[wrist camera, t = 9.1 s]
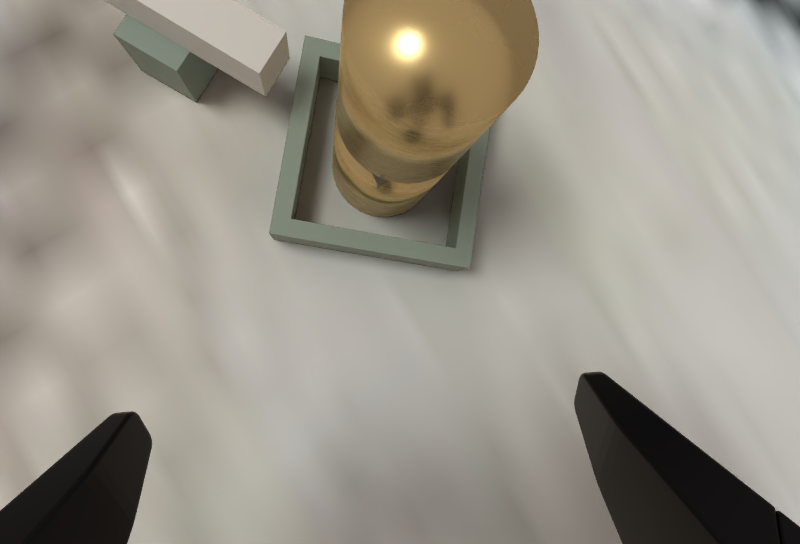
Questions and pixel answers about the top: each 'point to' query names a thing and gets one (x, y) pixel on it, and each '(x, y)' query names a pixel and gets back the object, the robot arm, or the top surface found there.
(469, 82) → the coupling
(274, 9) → the top surface
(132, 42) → the shaft bench
